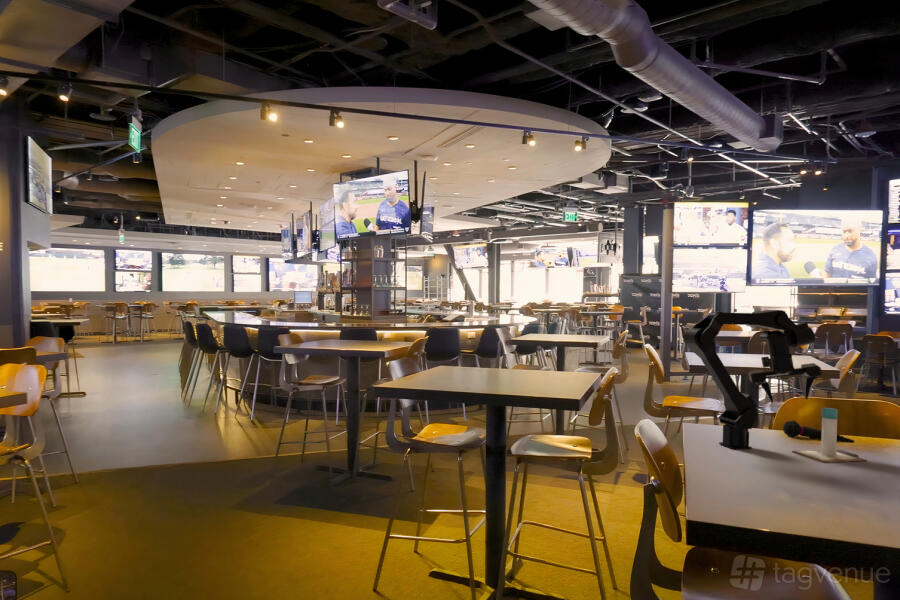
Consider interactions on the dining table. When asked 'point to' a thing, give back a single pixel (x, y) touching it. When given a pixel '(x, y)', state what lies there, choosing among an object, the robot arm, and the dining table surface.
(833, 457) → the clipboard
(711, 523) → the dining table surface
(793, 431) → the microphone
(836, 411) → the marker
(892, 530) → the dining table surface
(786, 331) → the robot arm
